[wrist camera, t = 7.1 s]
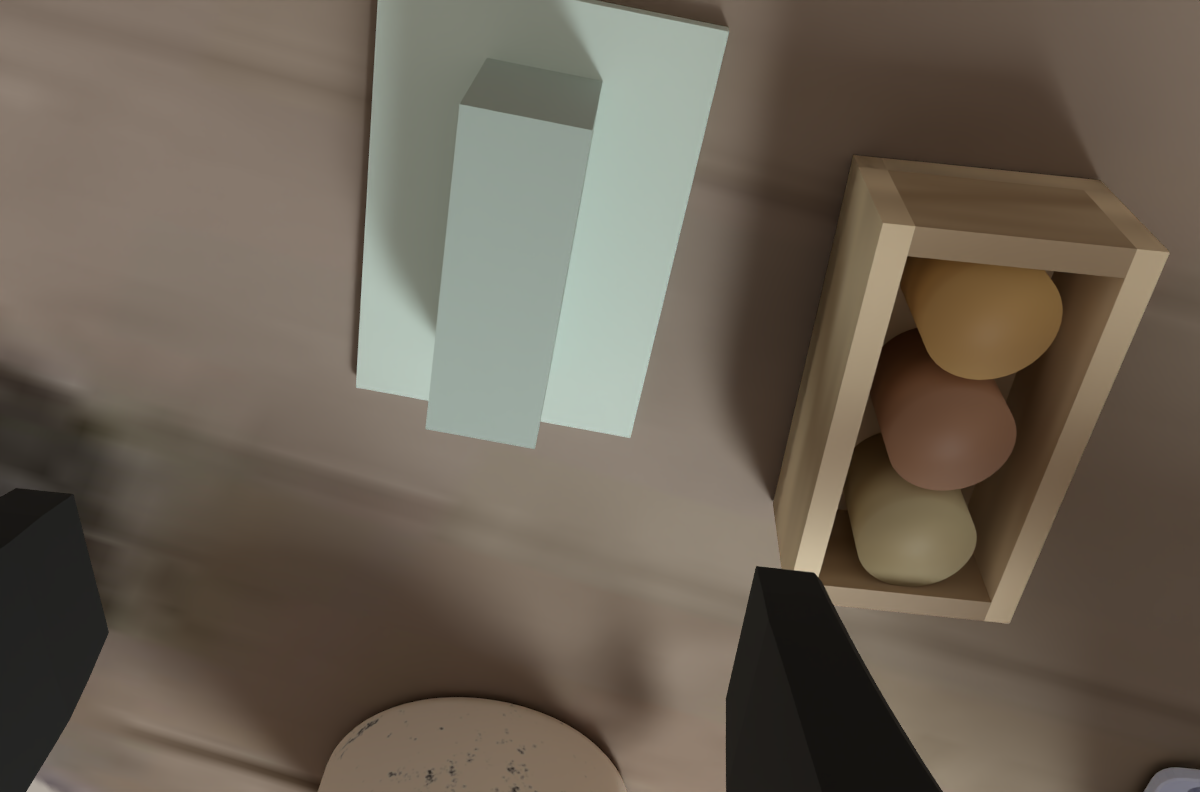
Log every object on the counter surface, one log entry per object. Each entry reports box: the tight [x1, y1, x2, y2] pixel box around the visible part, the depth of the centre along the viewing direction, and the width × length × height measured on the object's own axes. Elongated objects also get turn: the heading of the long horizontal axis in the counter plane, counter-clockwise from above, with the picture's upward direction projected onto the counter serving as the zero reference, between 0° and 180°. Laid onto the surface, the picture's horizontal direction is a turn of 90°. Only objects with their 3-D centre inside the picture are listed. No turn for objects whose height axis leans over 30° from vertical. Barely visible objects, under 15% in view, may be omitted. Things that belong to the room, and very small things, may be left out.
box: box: [773, 155, 1170, 624], centre depth 19 cm, size 8×4×3 cm, turn 175°
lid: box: [356, 0, 729, 449], centre depth 18 cm, size 8×6×3 cm
